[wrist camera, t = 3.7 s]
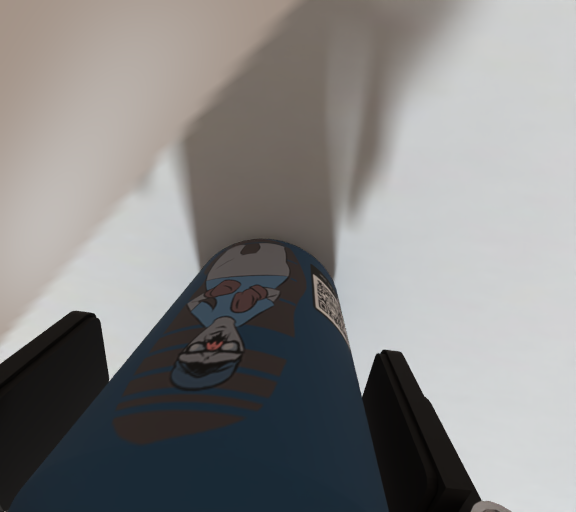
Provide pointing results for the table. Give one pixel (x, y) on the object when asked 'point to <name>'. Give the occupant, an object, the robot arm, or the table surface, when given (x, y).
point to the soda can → (226, 404)
